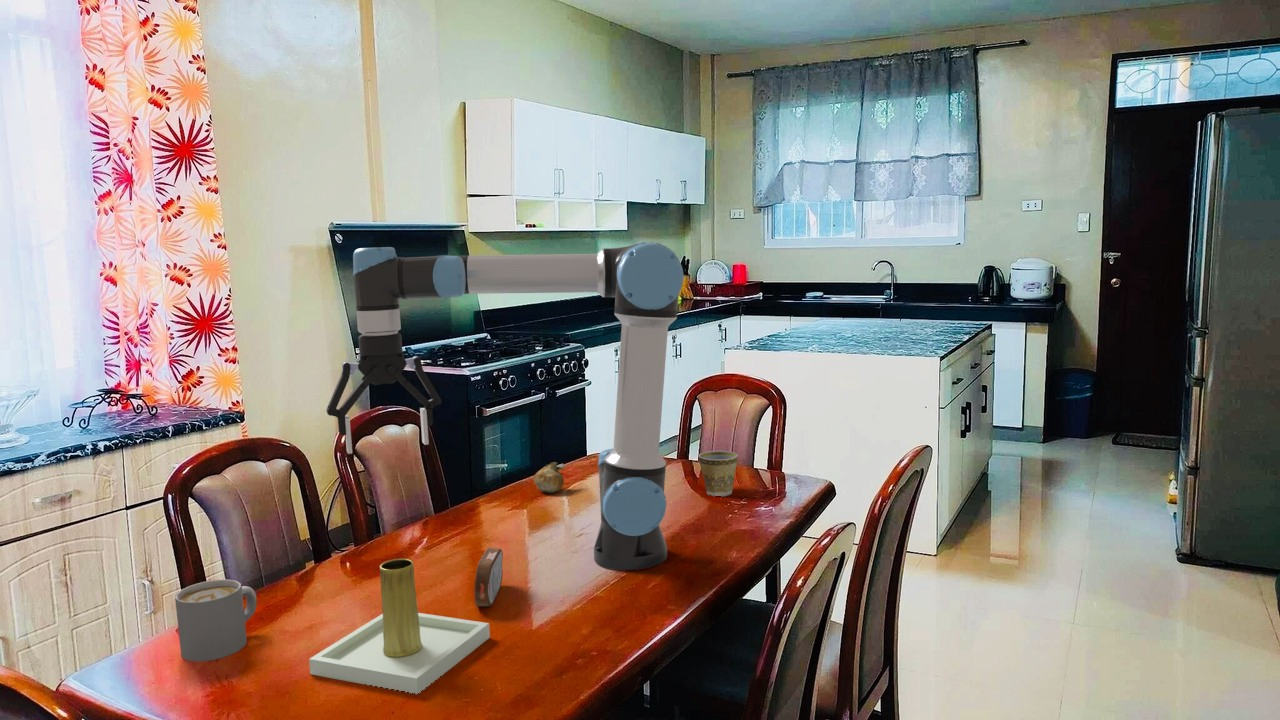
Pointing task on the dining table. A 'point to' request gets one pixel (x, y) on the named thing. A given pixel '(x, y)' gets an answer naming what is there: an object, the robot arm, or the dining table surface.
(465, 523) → the dining table surface
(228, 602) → the coffee mug
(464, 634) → the tray
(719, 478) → the ceramic cup
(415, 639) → the vase
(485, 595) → the tin
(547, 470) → the onion
